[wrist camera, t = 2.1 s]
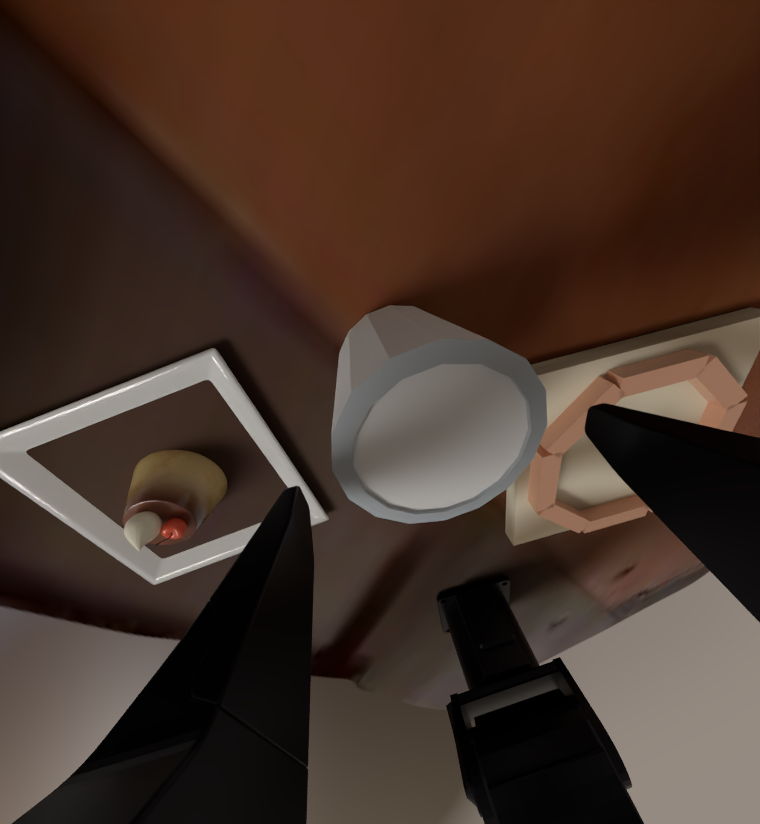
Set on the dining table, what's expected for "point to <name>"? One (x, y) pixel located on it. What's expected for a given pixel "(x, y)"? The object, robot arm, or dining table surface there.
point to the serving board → (570, 375)
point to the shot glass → (430, 416)
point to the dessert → (149, 473)
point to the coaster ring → (618, 384)
